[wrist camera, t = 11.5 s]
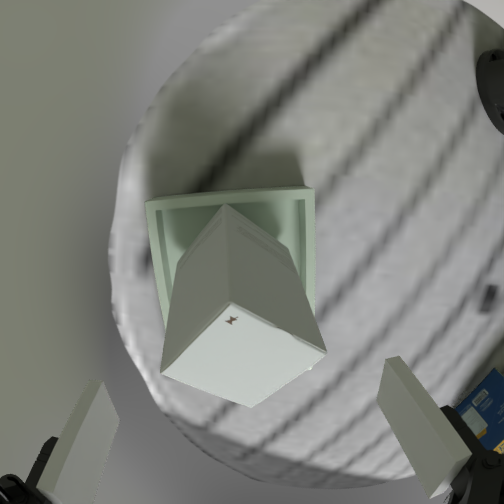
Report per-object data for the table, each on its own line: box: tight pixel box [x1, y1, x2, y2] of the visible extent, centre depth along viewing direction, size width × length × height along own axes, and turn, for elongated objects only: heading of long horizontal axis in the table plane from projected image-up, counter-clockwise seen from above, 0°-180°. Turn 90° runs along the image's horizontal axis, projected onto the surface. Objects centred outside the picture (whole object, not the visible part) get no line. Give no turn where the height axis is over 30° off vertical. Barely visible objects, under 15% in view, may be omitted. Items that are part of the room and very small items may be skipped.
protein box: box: [454, 368, 504, 454], centre depth 42 cm, size 10×15×16 cm
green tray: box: [145, 186, 315, 370], centre depth 35 cm, size 17×22×4 cm
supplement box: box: [160, 204, 327, 408], centre depth 27 cm, size 9×9×15 cm
